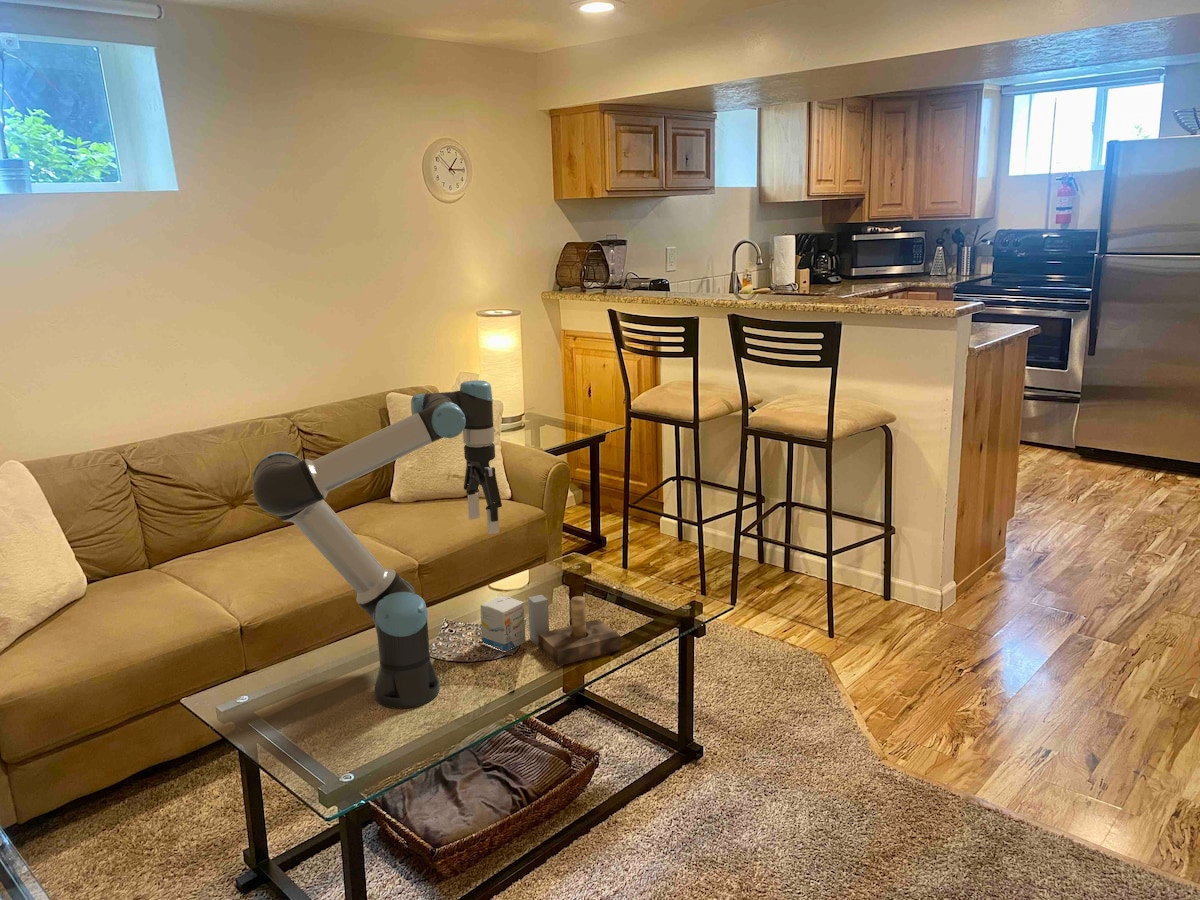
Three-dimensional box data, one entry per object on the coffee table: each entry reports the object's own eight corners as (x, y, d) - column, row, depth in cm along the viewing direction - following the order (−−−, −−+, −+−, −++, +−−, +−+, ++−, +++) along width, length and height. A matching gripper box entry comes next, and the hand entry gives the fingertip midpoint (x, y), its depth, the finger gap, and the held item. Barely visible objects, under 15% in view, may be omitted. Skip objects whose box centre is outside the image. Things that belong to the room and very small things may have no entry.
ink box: (504, 653, 231) (502, 612, 228) (481, 645, 236) (479, 604, 233) (526, 641, 237) (525, 601, 235) (503, 633, 242) (501, 593, 240)
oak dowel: (576, 652, 230) (575, 602, 227) (570, 647, 233) (568, 597, 230) (588, 649, 232) (587, 599, 228) (582, 644, 235) (581, 595, 232)
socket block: (558, 666, 223) (557, 651, 222) (538, 647, 234) (538, 633, 233) (620, 649, 231) (620, 635, 230) (599, 632, 242) (598, 618, 241)
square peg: (535, 644, 235) (534, 602, 233) (529, 639, 239) (527, 597, 236) (549, 641, 237) (547, 599, 234) (543, 635, 241) (541, 594, 238)
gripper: (512, 451, 209) (516, 536, 214) (475, 432, 231) (480, 510, 236) (482, 455, 206) (487, 542, 211) (448, 436, 228) (453, 515, 233)
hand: (483, 525), depth 223 cm, fingers open, 13 cm apart
